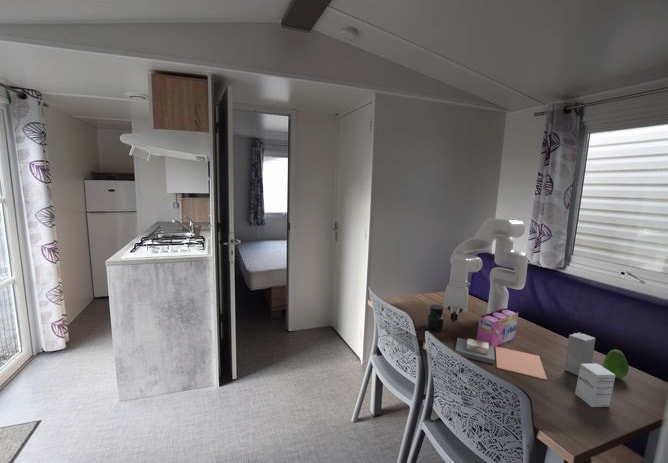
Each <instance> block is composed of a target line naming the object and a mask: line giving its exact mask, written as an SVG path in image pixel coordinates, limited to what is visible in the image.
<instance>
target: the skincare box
mask: <svg viewBox="0 0 668 463" xmlns="http://www.w3.org/2000/svg"><path fill="white" fill-rule="evenodd" d="M595 345H596V337H594V336H591V335H589V334H585V333H582V332H577V333H576V332H574V333H573V334H569V335H568V342H567V350H566V351H567V352H566V359H565V368H564V370H565V371H567V372H569V373H571V374H573V375H576V376H577V377H578V375H579V370H580V364H592V363H593V359H594V353H595Z"/></svg>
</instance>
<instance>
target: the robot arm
mask: <svg viewBox="0 0 668 463" xmlns="http://www.w3.org/2000/svg"><path fill="white" fill-rule="evenodd" d="M525 232H526V226H525V223H524V222H523V221H522V220H513V219H506V218H497V217H495V218H494V217H489V218H487V219H486V220H485V221H483V223H482V225H481V226H480V228H479V229H478V231H477V232H476V234H475V235H474V236H473V237H471V238H468V239H466V240H465V241H463V242H461V243H459V244H458V245H457V246H456V247H455V249H454V250H453V252H452V254H451V255H450V258H449V263H450V265H451V266H450V275H449V283H447V285H446V287H445V288H446V289H445V294H444V298H443V299H444V300H443V306H442V307H443V308H445V309H448V311H449V312H450V320H451V323H456V322H457V321H458V318H459V314H461V313H463V312H468V310H469V309H468V305H469V293H470V292H469V291H470V290H469V286H471V282H469V281H468V280H469V279H468V276H469V273H478V272H479V271H480V270H482V268H483V265H484V264H483V260H482V259H481V257H480V256H476V255H472V254H468V253H471V252H476V251H483V250H487V249H489V248H490V247H492V245H493V243H494V241H495V248H494V263H495V264H496V265H497V266H501V267H493V268H492V269H491V270H490V273H489V285H490V286H489V288H490V289H489V296H488V303H487V304H488V305H487V312H486V314H488V313H491V312H494V311H497V310H499V309H503V308H507V309H508V304H509V303H508V302H509V294H510V293H509V290H508V289H513V290H518V291H519V290H523V289H524V287H525V286H526V280H527V273H528V272H527V271H528V260H529V259H528V256H527V254H526V253H525V252H522V251H520V250H514V239H515V238H517V239H518V238H521V237H522V236H523V235H524V234H525ZM509 268H510V269H509ZM454 308H456V311H455V309H454Z"/></svg>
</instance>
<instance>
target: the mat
mask: <svg viewBox="0 0 668 463" xmlns="http://www.w3.org/2000/svg"><path fill="white" fill-rule="evenodd" d="M494 350H495V359H496V360H495V361H496V368H497V369H498V370H504V371H508V372H511V373H516V374H521V375H525V376H528V377H532V378H537V379H540V380H544V381H545V380H546V381H547V380H548V379H547V378H548V377H547V375H546V372H545V370H544V366H543V364H542V363H543V362H542V360H541V358H540V355H537V354H532V353H528V352H522V351H519V350H513V349H509V348H506V347H500V346H495V347H494Z"/></svg>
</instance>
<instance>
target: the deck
mask: <svg viewBox="0 0 668 463" xmlns="http://www.w3.org/2000/svg"><path fill="white" fill-rule="evenodd" d="M455 351H456V352H458V353H459V354H461V355H463V356H465V357H464V358H468V359H472V360H476V361H480V362H484V363H488V364H489V363H490V364H494V365H495V361H496V360H495V359H496V357H495V347H494V345H489V351H488V354H486V353H482V352H477V351H473V350H469V349H467V339H465V338H460V337H457V340H456V345H455ZM463 356H462V357H463Z"/></svg>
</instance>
